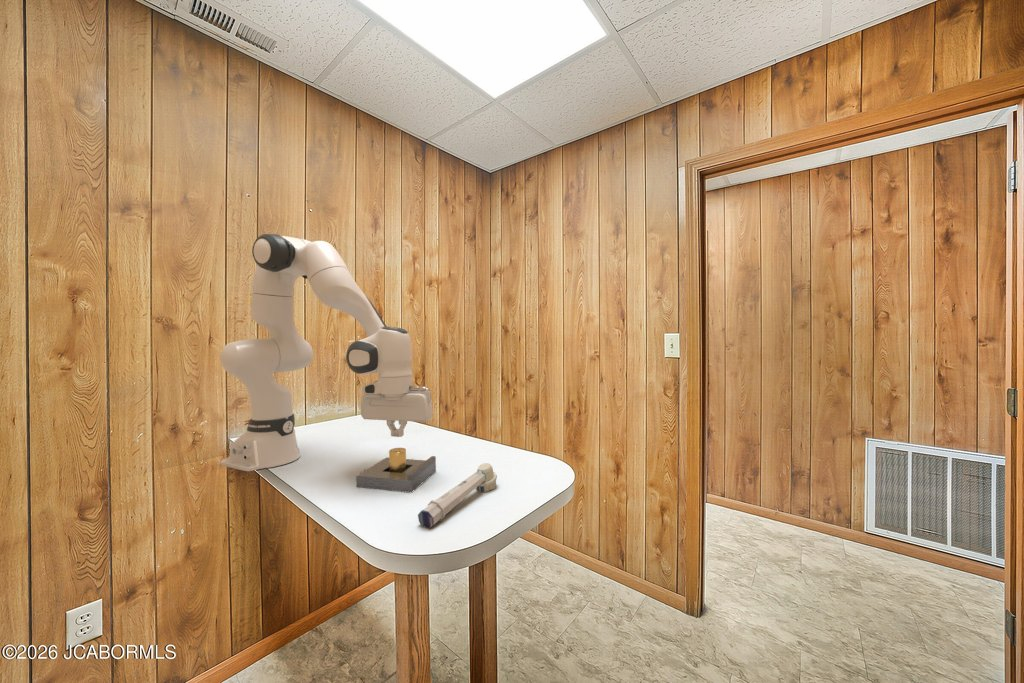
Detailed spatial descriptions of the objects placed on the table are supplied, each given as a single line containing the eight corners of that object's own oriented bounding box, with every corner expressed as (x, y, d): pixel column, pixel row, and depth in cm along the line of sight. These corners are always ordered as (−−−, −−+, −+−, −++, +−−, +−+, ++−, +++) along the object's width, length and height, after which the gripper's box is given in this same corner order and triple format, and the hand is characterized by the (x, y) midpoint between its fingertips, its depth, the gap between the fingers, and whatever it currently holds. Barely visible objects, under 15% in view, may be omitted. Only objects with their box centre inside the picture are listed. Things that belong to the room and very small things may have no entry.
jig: (356, 486, 96) (355, 470, 96) (386, 467, 110) (386, 452, 110) (411, 492, 93) (411, 475, 93) (435, 471, 106) (435, 456, 106)
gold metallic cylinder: (386, 481, 100) (385, 452, 99) (394, 475, 104) (394, 447, 104) (401, 482, 99) (400, 453, 98) (409, 476, 103) (408, 448, 103)
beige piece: (414, 507, 77) (482, 455, 98) (418, 536, 78) (485, 479, 99) (432, 513, 74) (499, 459, 95) (436, 543, 75) (501, 482, 96)
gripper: (436, 384, 101) (437, 434, 102) (370, 383, 106) (372, 431, 106) (425, 388, 95) (426, 441, 95) (356, 387, 100) (358, 437, 100)
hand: (397, 436), depth 101 cm, fingers closed
